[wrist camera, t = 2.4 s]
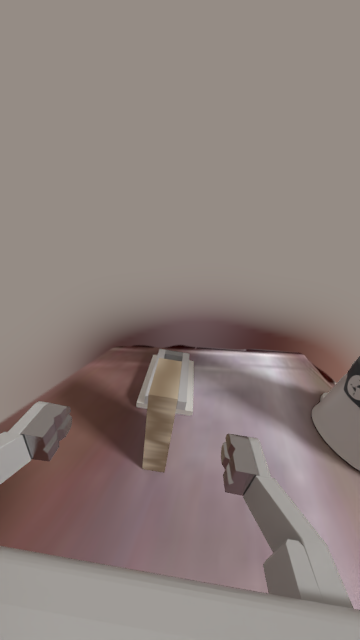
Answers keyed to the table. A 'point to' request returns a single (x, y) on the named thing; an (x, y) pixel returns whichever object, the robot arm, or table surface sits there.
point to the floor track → (185, 384)
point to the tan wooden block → (161, 413)
